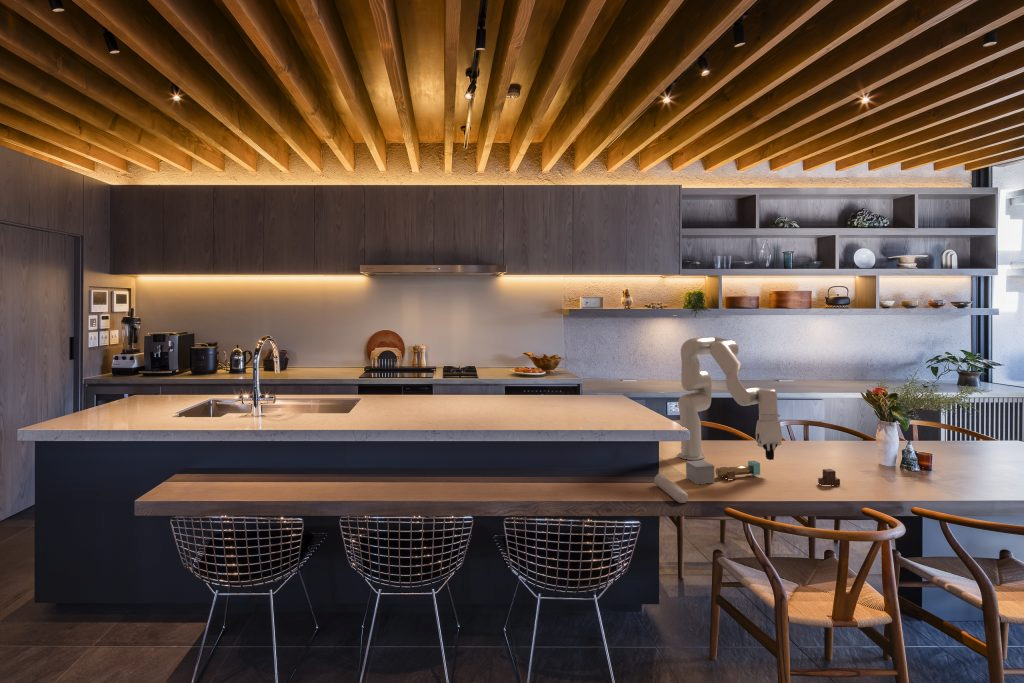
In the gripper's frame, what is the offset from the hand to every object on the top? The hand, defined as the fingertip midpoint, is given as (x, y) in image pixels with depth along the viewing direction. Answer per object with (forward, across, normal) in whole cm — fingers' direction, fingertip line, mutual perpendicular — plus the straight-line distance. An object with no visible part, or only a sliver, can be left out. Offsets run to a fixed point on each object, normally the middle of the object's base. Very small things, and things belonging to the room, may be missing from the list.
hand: (769, 459), depth 265 cm
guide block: (+7, +20, -1) cm, 21 cm away
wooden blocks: (+8, -14, +21) cm, 26 cm away
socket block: (+7, +32, -1) cm, 33 cm away
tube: (+7, +51, +13) cm, 53 cm away
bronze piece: (+6, +15, -1) cm, 16 cm away
